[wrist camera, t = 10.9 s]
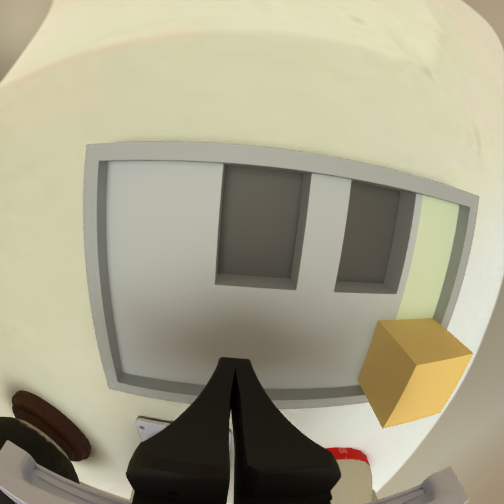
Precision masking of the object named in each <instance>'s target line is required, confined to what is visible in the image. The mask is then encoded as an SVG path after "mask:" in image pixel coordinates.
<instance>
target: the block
mask: <svg viewBox="0 0 504 504" xmlns="http://www.w3.org/2000/svg"><path fill="white" fill-rule="evenodd" d="M472 355H473V353H472V352H471V351H470V350H469V349H468V348H467V347H466V346H464V345H463V344H462V343H461V342H460V341H459V340H458V339H457V338H455V337H454V336H453V335H452V334H451V333H450V332H449V331H447V330H446V329H445V328H444V327H443V326H442V325H440V324H439V323H438V322H437V321H436V320H435V319H433V318H423V319H401V320H378V322H377V325H376V328H375V331H374V335H373V338H372V341H371V344H370V347H369V349H368V352H367V355H366V358H365V361H364V363H363V366H362V369H361V371H360V374H359V376H358V379H357V380H358V382H359V384H360V386H361V388H362V390H363V391H364V393H365V395H366V397H367V399H368V401H369V403H370V405H371V407H372V409H373V411H374V413H375V415H376V417H377V419H378V420H379V422H380V424H381V426H382V428H387V427H391V426H396V425H400V424H404V423H407V422H411V421H415V420H418V419H422V418H425V417H428V416H431V415H434V414H437V413H440V412H441V410H442V409H443V407H444V406H445V404H446V403H447V401H448V399H449V398H450V396H451V394H452V393H453V391H454V389H455V387H456V386H457V384H458V382H459V380H460V378H461V377H462V375H463V373H464V371H465V369H466V367H467V365H468V363H469V361H470V359H471V357H472Z"/></svg>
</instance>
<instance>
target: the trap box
mask: <svg viewBox="0 0 504 504" xmlns="http://www.w3.org/2000/svg"><path fill="white" fill-rule="evenodd" d="M478 202H479V196H477V195H474V194H472V193H469V192H466V191H463V190H460V189H457V188H454V187H451V186H448V185H445V184H442V183H439V182H436V181H433V180H429V179H426V178H422V177H419V176H415V175H412V174H408V173H404V172H401V171H397V170H393V169H389V168H385V167H380V166H376V165H372V164H367V163H363V162H358V161H353V160H348V159H343V158H337V157H332V156H326V155H320V154H314V153H308V152H301V151H294V150H287V149H279V148H270V147H261V146H251V145H239V144H226V143H209V142H179V141H145V142H117V143H101V144H88V145H86V155H85V168H84V189H83V228H84V249H85V263H86V273H87V283H88V291H89V298H90V305H91V311H92V317H93V323H94V328H95V334H96V339H97V343H98V348H99V352H100V357H101V361H102V365H103V369H104V372H105V376H106V380H107V383H108V387H109V389H113V390H117V391H121V392H125V393H130V394H134V395H139V396H144V397H149V398H155V399H161V400H167V401H173V402H180V403H188V404H192V403H193V402H194V401H195V399H196V398H197V397H198V396H199V394H200V393H201V392H202V390H203V389H204V387H205V386H206V385H207V383H208V381H209V380H210V378H211V376H212V375H213V373H214V371H215V369H216V366H217V364H218V361H219V358H221V357H229V358H242V359H249V360H250V361H251V364H252V367H253V369H254V371H255V374H256V376H257V378H258V380H259V382H260V383H261V385H262V387H263V388H264V390H265V392H266V393H267V395H268V396H269V398H270V399H271V401H272V402H273V403H274V405H275V406H276V407H277V408H278V409H297V408H317V407H331V406H341V405H350V404H359V403H366V402H369V401H368V399H367V397H366V395H365V393H364V391H363V390H362V388H361V386H360V384H359V382H358V380H357V379H358V376H359V374H360V371H361V369H362V366H363V363H364V361H365V358H366V355H367V352H368V349H369V347H370V344H371V341H372V338H373V335H374V331H375V328H376V325H377V322H378V320H401V319H423V318H433V319H435V320H436V321H437V322H438V323H439V324H440V325H442V326H443V327H444V328H445V329H446V330H447V328H448V325H449V322H450V319H451V317H452V314H453V311H454V308H455V305H456V302H457V299H458V296H459V293H460V289H461V286H462V282H463V279H464V275H465V271H466V267H467V263H468V259H469V255H470V250H471V245H472V240H473V235H474V230H475V224H476V217H477V210H478Z"/></svg>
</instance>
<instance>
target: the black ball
mask: <svg viewBox="0 0 504 504" xmlns="http://www.w3.org/2000/svg"><path fill="white" fill-rule="evenodd" d="M12 404H13V406H12V409H13V413H14V415H15V417H16V418H12V417H0V450H1V449H2V447H3V446H4V444H5V443H6V441H7V440H8V441H10V442H12V443H13V444H15V445H16V446H18V447H20V448H21V449H23V450H24V451H26V452H27V453H28V454H30V455H31V457H32V458H33V459H34V460H35V462H36V463H37V464H39V465H40V466H42V467H44V468H46V469H48V470H50V471H52V472H54V473H56V474H58V475H60V476H62V477H64V478H66V479H68V480H71V481H73V482H75V483H78V484H79V479H78V476H77V474H76V472H75V469H74V467H73V465H72V463H71V461H76V462H77V461H81V460H82V459H87V458H88V457H89V455H90V453H91V445H90V443H89V441H88V440H87V438H86V437H85V435H84V434H83V433H82V432H81V431H80V430H79V428H78V427H77V426H76V425H75V424H74V423H73V422H72V421H70V420H69V419H68V418H67V417H66V416H65V415H64V414H62V413H61V412H60V411H59V410H57V409H56V408H55V407H53V406H52V405H50V404H49V403H48V402H46V401H45V400H43V399H41V398H40V397H38V396H36V395H34V394H32V393H29V392H26V391H17V393H16V394H15V395H14V396H13V397H12ZM0 504H17V503H16V502H14V501H13V500H12V499H11V498H10V497H8V496H7V495H6V494H5V493H4V492H3V491H2V490H0Z"/></svg>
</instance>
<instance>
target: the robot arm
mask: <svg viewBox="0 0 504 504" xmlns="http://www.w3.org/2000/svg"><path fill="white" fill-rule="evenodd" d="M230 411H231V413H232V425H233V436H234V449H235V462H234V504H331V502H330V501H331V500H332V494H331V490H332V489H333V487H334V486H335V485H336V484H337V483H338V481H339V480H340V478H341V471H340V468H339V465H338V463H337V461H336V459H335V457H334V455H333V453H332V452H330V451H328V450H327V449H325V448H323V447H322V446H320V445H318V444H316V443H315V442H313V441H312V440H311V439H309V438H308V437H306V436H305V435H304V434H303V433H302V432H300V431H299V430H298V429H297V428H296V427H295V426H294V425H292V424H291V423H290V422H289V421H288V420H287V419H286V418H285V417H284V415H283V414H282V413H281V412H280V411H279V410H278V408H277V407H276V406H275V405H274V403H273V402H272V401H271V399H270V398H269V396H268V395H267V393H266V392H265V390H264V388H263V387H262V385H261V383H260V382H259V380H258V378H257V376H256V374H255V371H254V369H253V367H252V364H251V361H250V360H249V359H242V358H229V357H221V358H219V361H218V364H217V366H216V369H215V371H214V373H213V375H212V376H211V378H210V380H209V381H208V383H207V385H206V386H205V387H204V389H203V390H202V392H201V393H200V394H199V396H198V397H197V398H196V399H195V401H194V402H193V403H192V404H191V405H190V406H189V407H188V408H187V409H186V410H185V411H184V412H183V413H182V414H181V415H180V416H179V417H178V418H177V419H176V420H175V421H173V422H172V423H166V422H160V421H154V420H149V419H144V418H137V420H136V425H137V428H138V431H139V434H140V437H141V440H142V442H141V443H140V444H139V446H138V447H137V449H136V450H135V452H134V454H133V456H132V458H131V460H130V462H129V465H128V469H127V472H126V476H127V479H128V481H129V482H130V484H131V486H132V488H133V490H132V494H131V498H130V502H128V501H125V500H122V499H118V498H115V497H112V496H109V495H106V494H103V493H101V492H98V491H95V490H92V489H90V488H87V487H85V486H82V485H80V484H78V483H75V482H73V481H71V480H68V479H66V478H64V477H62V476H60V475H58V474H56V473H54V472H52V471H50V470H48V469H46V468H44V467H42V466H40V465H39V464H37V463H36V462H35V460H34V459H33V458H32V457H31V455H30V454H28V453H27V452H26V451H24V450H23V449H21V448H20V447H18V446H16V445H15V444H13V443H12V442H10V441H8V440H7V441H6V443H5V444H4V446H3V447H2V449H1V450H0V490H2V491H3V492H4V493H5V494H6V495H7V496H8V497H10V498H11V499H12V500H13V501H14V502H16V503H17V504H226V503H227V496H228V489H229V482H230V458H229V457H230V445H231V432H230V431H229V418H230ZM468 501H469V497H468V496H467V494H466V492H465V490H464V488H463V487H462V485H461V483H460V482H459V480H458V478H457V476H456V475H455V473H454V471H453V470H452V468H451V466H449V467H447V468H445V469H443V470H441V471H438V472H436V473H434V474H432V475H431V476H429V477H428V478H427V479H425V480H424V481H423V483H422V484H421V485H418V486H416V487H413V488H411V489H408V490H406V491H403V492H400V493H397V494H394V495H392V496H389V497H385V498H382V499H379V500H375V501H372V502H368V503H365V504H466V503H467V502H468Z"/></svg>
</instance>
